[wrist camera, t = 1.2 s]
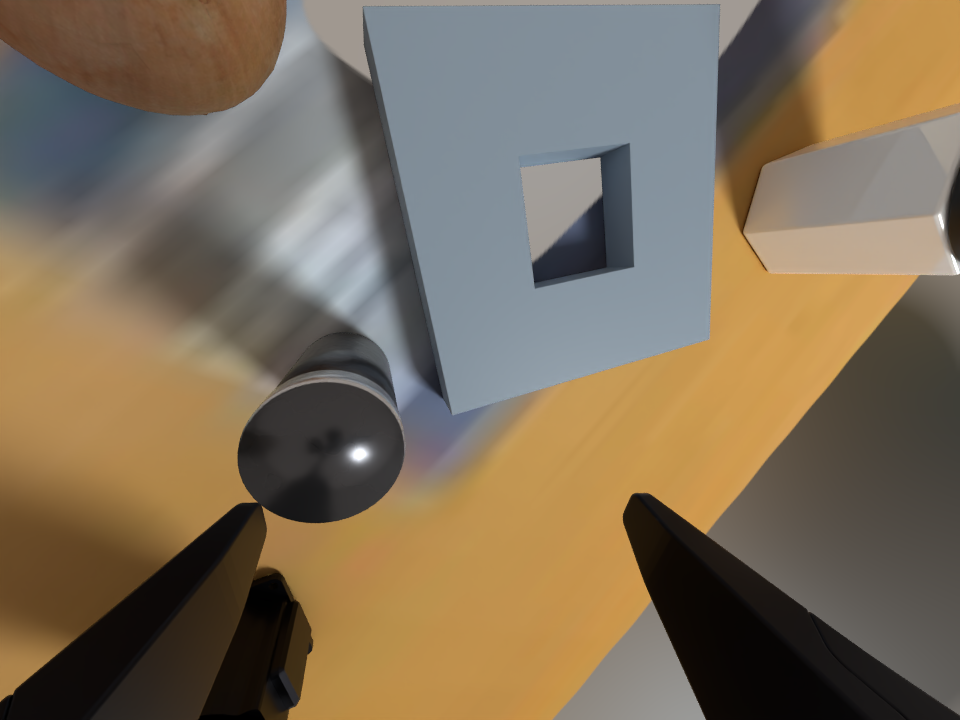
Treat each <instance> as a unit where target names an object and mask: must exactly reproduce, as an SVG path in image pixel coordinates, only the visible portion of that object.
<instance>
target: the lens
mask: <svg viewBox="0 0 960 720" xmlns="http://www.w3.org/2000/svg"><path fill="white" fill-rule="evenodd" d="M404 456H405V437H404V432H403V427H402V422H401V417H400V414H399V411H398V408H397V403H396V398H395V393H394V387H393V382H392V377H391V372H390V367H389V363H388V360H387V358H386V356H385V354H384V353H383V351H382V350H381V349H380V348H379V346H377V345H376V344H375V343H374V342H373V341H371V340H369V339H368V338H366V337H364V336H361V335H358V334H353V333H335V334H330V335H327V336H325V337H322V338H320V339H319V340H317V341H315V342H314V343H313V344H312V345H311V346H310V347H309V348H308V349H307V350H306V351H305V352H304V354H303V355H302V356H301V357H300V359H299V360H298V361H297V362H296V364H295V365H294V366H293V367H292V369H291V370H290V371H289V372H288V374H287V375H286V376H285V377H284V379H283V380H282V381H281V382H280V384H279V385H278V386H277V387H276V389H275V390H273V391H272V392H271V393H270V394H269V395H268V396H267V397H266V399H265V400H264V401H263V402H262V403H261V405H260V406H259V407H258V408H257V410H256V411H255V412H254V413H253V415H252V416H251V418H250V419H249V420H248V422H247V424H246V426H245V428H244V430H243V432H242V435H241V438H240V441H239V448H238V468H239V473H240V476H241V479H242V481H243V483H244V485H245V487H246V489H247V490H248V492H249V493H250V494H251V495H252V497H253V498H254V499H255V500H256V501H257V502H258V503H259V504H261V505H262V506H263V507H265V508H266V509H267V510H269V511H271V512H273V513H274V514H276V515H278V516H281V517H284V518H286V519H290V520H294V521H298V522H305V523H326V522H333V521H339V520H342V519H346V518H349V517H351V516H354V515H356V514H359V513H361V512H362V511H364V510H366V509H368V508H369V507H371V506H372V505H374V504H375V503H376V502H378V501H379V500H380V499H381V498H382V497H383V496H384V495H385V494H386V493H387V492H388V491H389V489H390V488H391V487H392V485H393V484H394V482H395V481H396V479H397V477H398V475H399V473H400V470H401V468H402V464H403V460H404Z"/></svg>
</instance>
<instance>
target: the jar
mask: <svg viewBox="0 0 960 720" xmlns="http://www.w3.org/2000/svg"><path fill="white" fill-rule="evenodd" d="M743 234H744V236H745V237H746V239H747V240H748V242H749V243H750V245H751V246H752V248H753V249H754V251H755V252H756V254H757V256H758V257H759V259H760V260H761V262H762V263H763V265H764V266H765V268H766V269H767V271H768V272H769V273H794V274H897V275H957V274H959V273H960V103H958V104H954V105H950V106H947V107H943V108H940V109H936V110H933V111H929V112H926V113H922V114H919V115H915V116H912V117H908V118H904V119H901V120H897V121H894V122H890V123H887V124H883V125H880V126H876V127H873V128H869V129H866V130H862V131H858V132H855V133H851V134H848V135H844V136H841V137H837V138H834V139H830V140H827V141H823V142H820V143H816V144H813V145H809V146H807V147H805V148H802V149H800V150H798V151H795V152H793V153H791V154H788V155H786V156H784V157H781V158H779V159H776V160H774V161H772V162H769V163H767V164H765V165H764V166H763V167H762V169H761V173H760V176H759V179H758V183H757V186H756V189H755V193H754V196H753V200H752V203H751V206H750V210H749V213H748V216H747V220H746V223H745V227H744V230H743Z"/></svg>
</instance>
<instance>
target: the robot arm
mask: <svg viewBox="0 0 960 720" xmlns="http://www.w3.org/2000/svg"><path fill="white" fill-rule="evenodd" d="M623 523H624V526H625V529H626V532H627V535H628V538H629V541H630V543H631V546H632V549H633V552H634V555H635V558H636V561H637V563H638V566H639V569H640V572H641V575H642V577H643V580H644V583H645V585H646V587H647V590H648V592H649V594H650V597H651V599H652V601H653V603H654V606H655V608H656V610H657V612H658V614H659V617H660V619H661V621H662V623H663V625H664V628H665V630H666V632H667V634H668V636H669V639H670V641H671V643H672V645H673V648H674V650H675V652H676V654H677V657H678V659H679V661H680V663H681V665H682V667H683V670H684V672H685V674H686V676H687V679H688V681H689V683H690V685H691V687H692V690H693V692H694V694H695V696H696V699H697V701H698V703H699V705H700V707H701V710H702V712H703V714H704V716H705V719H706V720H960V715H958V714H957V713H955V712H954V711H952V710H951V709H949V708H948V707H946V706H944V705H943V704H941V703H940V702H939V701H937V700H936V699H934V698H933V697H931V696H930V695H928V694H927V693H925V692H924V691H922V690H921V689H919V688H918V687H916V686H915V685H913V684H912V683H910V682H909V681H908V680H906V679H905V678H903V677H902V676H900V675H899V674H897V673H896V672H894V671H893V670H891V669H890V668H888V667H887V666H886V665H884V664H883V663H881V662H880V661H878V660H877V659H875V658H874V657H872V656H871V655H869V654H868V653H867V652H865V651H864V650H862V649H861V648H860V647H858V646H857V645H855V644H854V643H852V642H851V641H850V640H848V639H847V638H846V637H844V636H843V635H841V634H840V633H839V632H837V631H836V630H834V629H833V628H831V627H830V626H829V625H828V624H826V623H825V622H823V621H822V620H821V619H820V618H818V617H817V616H815V615H814V614H813V613H811V612H808V611H807V609H806V608H804V607H803V606H802V605H800V604H799V603H798V602H796V601H795V600H794V599H792V598H791V597H789V596H788V595H787V594H785V593H784V592H782V591H781V590H780V589H779V588H777V587H776V586H774V585H773V584H772V583H770V582H769V581H767V580H766V579H765V578H763V577H762V576H761V575H760V574H758V573H757V572H755V571H754V570H753V569H751V568H750V567H749V566H747V565H746V564H745V563H743V562H742V561H741V560H739V559H738V558H736V557H735V556H734V555H732V554H731V553H729V552H728V551H727V550H726V549H724V548H723V547H721V546H720V545H719V544H717V543H716V542H715V541H713V540H712V539H711V538H709V537H708V536H707V535H705V534H704V533H702V532H701V531H700V530H698V529H697V528H696V527H694V526H693V525H692V524H690V523H689V522H687V521H686V520H685V519H683V518H682V517H681V516H679V515H678V514H677V513H675V512H674V511H673V510H671V509H670V508H668V507H667V506H666V505H664V504H663V503H662V502H660V501H659V500H658V499H656V498H655V497H653V496H652V495H651V494H648V493H634V494H633V495H631V497H630V499H629V502H628V504H627V506H626V508H625V511H624V513H623ZM266 532H267V527H266V522H265V518H264V514H263V509H262V506H261V504H259V503H240V504H238V505H236V506H235V507H233V508H232V509H231V510H230V511H229V512H227V513H226V514H225V515H224V516H223V517H221V518H220V519H219V520H218V521H217V522H215V523H214V524H213V525H212V526H211V527H209V528H208V529H207V530H206V531H205V532H203V533H202V534H201V535H200V536H199V537H197V538H196V539H195V540H194V541H193V542H191V543H190V544H189V545H188V546H187V547H185V548H184V549H183V550H182V551H181V552H179V553H178V554H177V555H176V556H175V557H173V558H172V559H171V560H170V561H169V562H167V563H166V564H165V565H164V566H163V567H161V568H160V569H159V570H158V571H157V572H155V573H154V574H153V575H152V576H151V577H149V578H148V579H147V580H146V581H145V582H143V583H142V584H141V585H140V586H139V587H137V588H136V589H135V590H134V591H133V592H131V593H130V594H129V595H128V596H127V597H125V598H124V599H123V600H122V601H121V602H119V603H118V604H117V605H116V606H115V607H113V608H112V609H111V610H110V611H109V612H107V613H106V614H105V615H104V616H103V617H101V618H100V619H99V620H98V621H97V622H95V623H94V624H93V625H92V626H91V627H89V628H88V629H87V630H86V631H85V632H83V633H82V634H81V635H80V636H79V637H77V638H76V639H75V640H74V641H73V642H71V643H70V644H69V645H68V646H67V647H65V648H64V649H63V650H62V651H61V652H59V653H58V654H57V655H56V656H55V657H53V658H52V659H51V660H50V661H49V662H47V663H46V664H45V665H44V666H43V667H41V668H40V669H39V670H38V671H37V672H35V673H34V674H33V675H32V676H31V677H30V678H28V679H27V680H26V681H25V682H24V683H22V684H21V685H20V686H19V687H18V688H16V690H15V691H14V693H13V695H8V696H7V697H5V698H4V699H3V700H2V701H0V720H287V719H288V714H289V709H290V708H293V707H295V706H296V705H297V704H298V702H299V700H300V697H301V691H302V685H303V679H304V672H305V666H306V660H307V655H308V654H309V653H310V652H311V651H312V648H313V639H312V637H311V627H310V625H309V623H308V621H307V618H306V616H305V614H304V612H303V610H302V607H301V605H300V603H299V602H298V601H296V600H294V598H293V596H292V594H291V591H290V589H289V587H288V585H287V583H286V581H285V578H284V577H283V575H281V574H272V575H269V576H266V577H264V578H261V579H258V580H255V581H253V582H252V580H253V577H254V574H255V571H256V567H257V564H258V561H259V558H260V554H261V551H262V548H263V545H264V541H265V538H266ZM272 583H277V584H272Z"/></svg>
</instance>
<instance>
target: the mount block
mask: <svg viewBox="0 0 960 720" xmlns="http://www.w3.org/2000/svg"><path fill="white" fill-rule="evenodd" d="M719 18H720V4H706V5H705V4H703V5H701V4H699V5H533V6H532V5H530V6H529V5H527V6H526V5H520V6H363V29H364V30H363V31H364V47H365V52H366V56H367V61H368V65H369V69H370V74H371V79H372V83H373V88H374V92H375V97H376V101H377V105H378V110H379V114H380V119H381V123H382V128H383V132H384V137H385V141H386V145H387V150H388V154H389V159H390V163H391V168H392V172H393V177H394V181H395V186H396V190H397V194H398V199H399V203H400V208H401V212H402V217H403V221H404V226H405V230H406V235H407V239H408V243H409V248H410V252H411V257H412V261H413V266H414V270H415V275H416V279H417V283H418V288H419V292H420V297H421V301H422V306H423V310H424V315H425V319H426V324H427V328H428V332H429V337H430V341H431V346H432V350H433V355H434V359H435V364H436V368H437V373H438V377H439V381H440V386H441V390H442V395H443V399H444V401H445V403H446V405H447V407H448V408H449V410H450V412H451V414H452V415H455V414H459V413H462V412H466V411H469V410H472V409H476V408H479V407H482V406H486V405H489V404H493V403H496V402H499V401H503V400H506V399H509V398H513V397H516V396H520V395H523V394H526V393H530V392H533V391H536V390H540V389H543V388H547V387H550V386H553V385H557V384H560V383H563V382H567V381H570V380H574V379H577V378H580V377H584V376H587V375H590V374H594V373H597V372H601V371H604V370H607V369H611V368H614V367H617V366H621V365H624V364H628V363H631V362H634V361H638V360H641V359H644V358H648V357H651V356H655V355H658V354H661V353H665V352H668V351H671V350H675V349H678V348H682V347H685V346H688V345H692V344H695V343H698V342H702V341H705V340H708V339H709V336H710V304H711V273H712V242H713V210H714V179H715V147H716V116H717V84H718V53H719V21H720V19H719ZM598 157H600V158H601V174H602V192H603V209H604V226H605V243H606V260H607V267H606V268H601V269H597V270H592V271H587V272H583V273H578V274H573V275H569V276H564V277H559V278H555V279H550V280H545V281H541V282H536V283H534V278H533V270H532V262H531V253H530V246H529V237H528V229H527V222H526V213H525V205H524V196H523V188H522V180H521V173H520V167H527V166H535V165H543V164H551V163H558V162H567V161H575V160H582V159H590V158H598Z"/></svg>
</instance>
